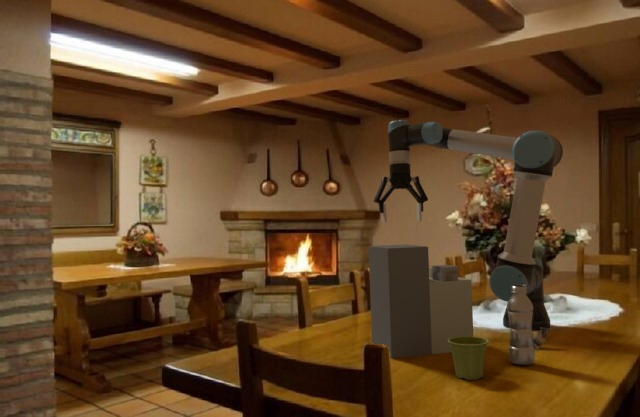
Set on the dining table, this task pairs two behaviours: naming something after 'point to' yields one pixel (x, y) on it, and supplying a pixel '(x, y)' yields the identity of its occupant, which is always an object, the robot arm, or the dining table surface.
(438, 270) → the batten
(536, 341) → the vase
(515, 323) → the plastic bottle
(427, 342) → the pedestal
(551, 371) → the dining table surface
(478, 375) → the plant pot
